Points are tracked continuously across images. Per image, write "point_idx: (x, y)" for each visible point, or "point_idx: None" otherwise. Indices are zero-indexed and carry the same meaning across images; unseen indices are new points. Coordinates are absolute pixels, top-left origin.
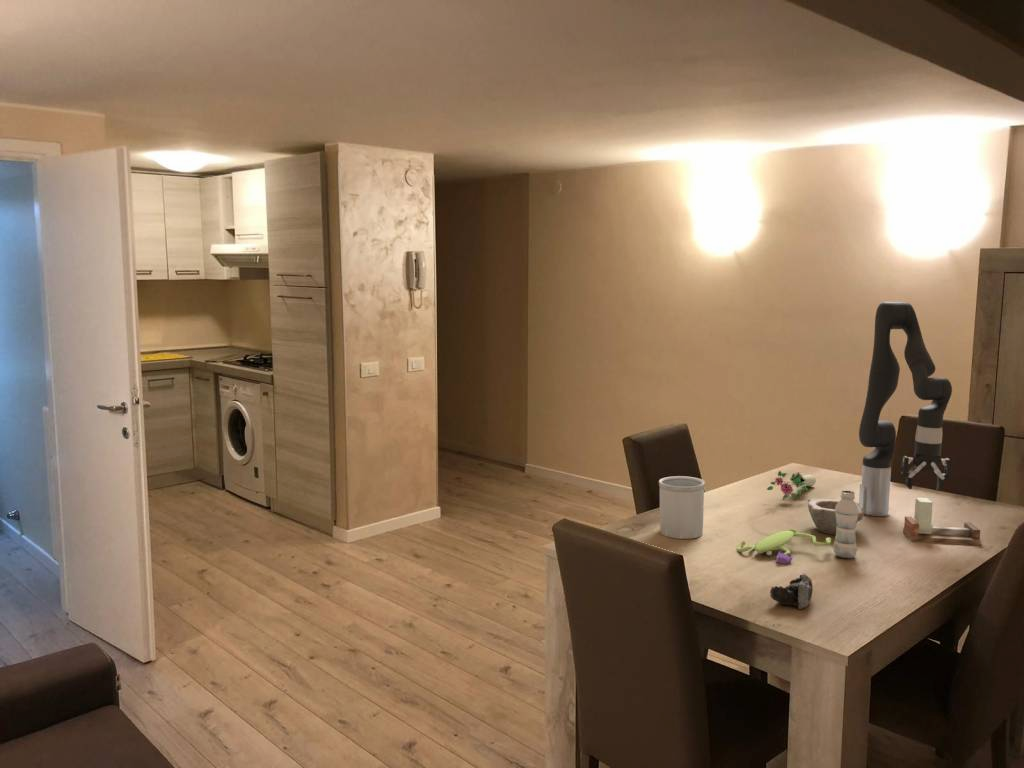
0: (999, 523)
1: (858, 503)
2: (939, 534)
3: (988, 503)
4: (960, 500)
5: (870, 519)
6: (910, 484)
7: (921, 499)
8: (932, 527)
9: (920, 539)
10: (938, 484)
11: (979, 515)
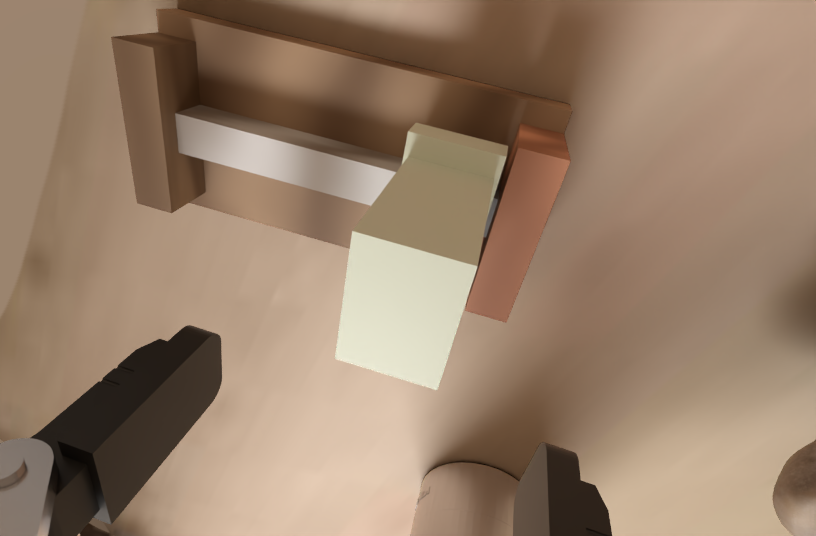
0: (45, 312)
1: (806, 506)
2: (360, 146)
3: None
4: (127, 506)
5: None
6: (576, 510)
7: (411, 339)
8: (413, 127)
9: (516, 95)
10: (162, 401)
11: None
